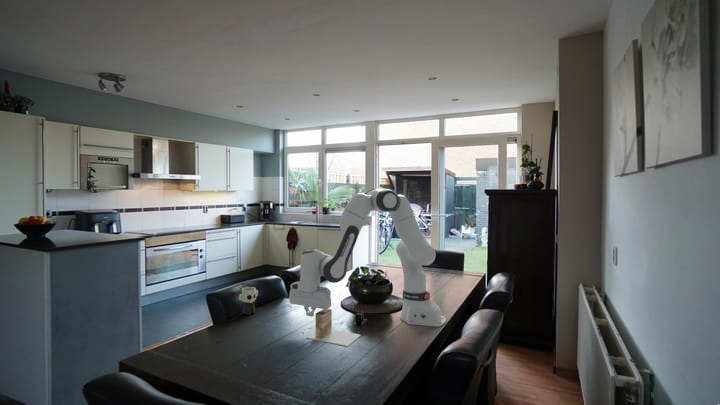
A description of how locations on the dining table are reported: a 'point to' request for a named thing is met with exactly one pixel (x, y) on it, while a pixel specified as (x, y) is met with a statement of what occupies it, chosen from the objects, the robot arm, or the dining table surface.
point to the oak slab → (323, 323)
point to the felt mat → (337, 338)
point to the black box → (359, 319)
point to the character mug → (248, 299)
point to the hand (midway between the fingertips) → (310, 315)
